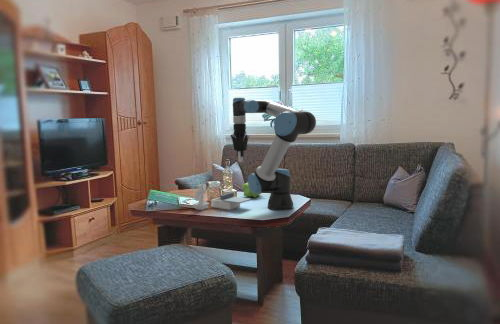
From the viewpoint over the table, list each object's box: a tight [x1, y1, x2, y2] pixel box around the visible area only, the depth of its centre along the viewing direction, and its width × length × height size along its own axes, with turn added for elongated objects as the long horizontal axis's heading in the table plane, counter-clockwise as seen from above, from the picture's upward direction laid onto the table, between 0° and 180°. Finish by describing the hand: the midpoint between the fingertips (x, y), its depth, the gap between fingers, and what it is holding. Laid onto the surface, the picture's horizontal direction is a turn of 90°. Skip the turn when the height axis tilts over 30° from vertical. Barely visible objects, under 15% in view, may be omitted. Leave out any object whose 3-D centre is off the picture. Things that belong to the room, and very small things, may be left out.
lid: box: [219, 192, 252, 204], centre depth 214 cm, size 14×11×3 cm
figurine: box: [192, 184, 210, 211], centre depth 215 cm, size 7×9×15 cm
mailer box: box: [210, 196, 241, 210], centre depth 219 cm, size 14×10×5 cm
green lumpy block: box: [241, 182, 262, 198], centre depth 249 cm, size 15×13×11 cm
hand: (240, 161), depth 224 cm, fingers closed
